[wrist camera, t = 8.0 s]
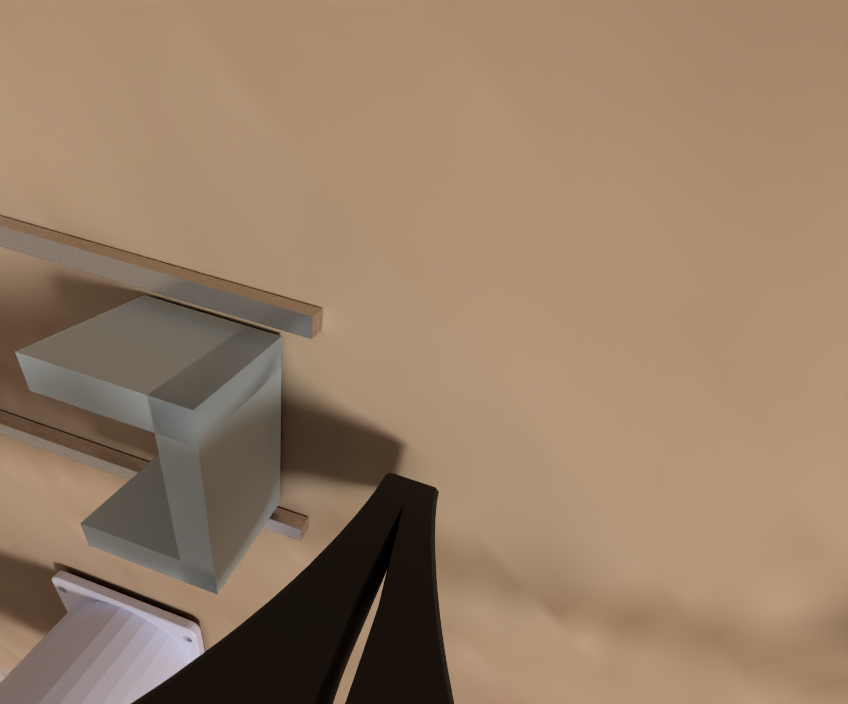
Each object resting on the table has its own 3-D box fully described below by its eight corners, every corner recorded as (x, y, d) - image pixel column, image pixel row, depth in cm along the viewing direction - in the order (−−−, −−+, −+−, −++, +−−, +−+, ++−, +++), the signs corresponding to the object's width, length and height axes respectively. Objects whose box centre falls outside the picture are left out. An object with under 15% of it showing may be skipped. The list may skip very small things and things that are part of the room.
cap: (279, 502, 14) (217, 594, 11) (173, 465, 14) (88, 545, 12) (281, 336, 11) (193, 410, 8) (143, 294, 11) (14, 351, 8)
